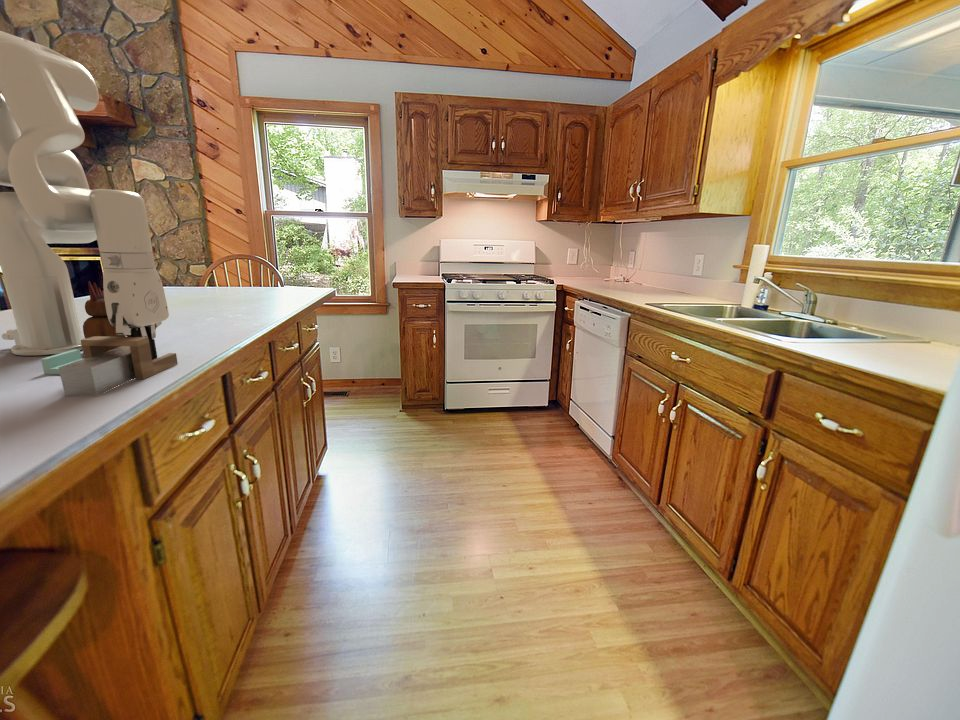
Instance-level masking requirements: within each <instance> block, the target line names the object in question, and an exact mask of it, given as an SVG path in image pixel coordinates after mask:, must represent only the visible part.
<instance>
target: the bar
mask: <svg viewBox="0 0 960 720" xmlns="http://www.w3.org/2000/svg"><path fill="white" fill-rule="evenodd" d="M58 368H59V372H60V374H59V375H60V379H61V383H62V387H63V389H62V390H63V392H64V396H65V397H98V396H101V395H103V394H105V393H107V392H109V391H111V390H110V389H112V388H114V387H116V386H118V385H120V386H122V385H121V384H123V383H125V382H127V381H129V380H131V379H134V378H136V377H135V372H134V366H133V361H132V356H131V350H130V346H121V347H118V348H115V349H112V350H109V351H106V352H103V353H100V354H97V355H94V356H91V357H88V358H85V359H82V360H79V361H76V362H73V363H70V364H67V365H64V366H61V367H58ZM134 380H135V379H134ZM131 381H132V380H131ZM129 382H130V381H129ZM127 383H128V382H127ZM125 384H126V383H125ZM123 385H124V384H123ZM118 387H119V386H118ZM116 388H117V387H116ZM114 389H115V388H114ZM108 390H109V391H108ZM112 390H113V389H112ZM106 391H107V392H106ZM104 392H105V393H104ZM102 393H103V394H102ZM100 394H101V395H100Z"/></svg>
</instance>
